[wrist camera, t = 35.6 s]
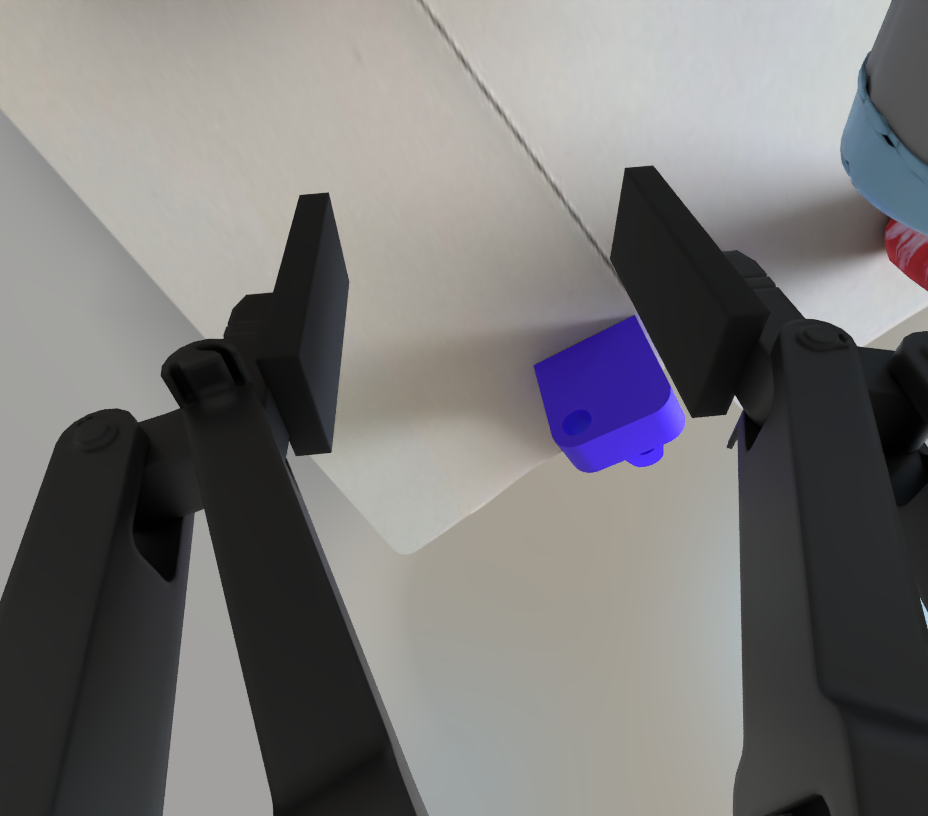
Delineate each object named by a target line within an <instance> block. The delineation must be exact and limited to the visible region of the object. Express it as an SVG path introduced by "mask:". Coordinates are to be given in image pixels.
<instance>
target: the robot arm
mask: <svg viewBox="0 0 928 816" xmlns="http://www.w3.org/2000/svg"><path fill="white" fill-rule="evenodd" d="M840 152H841V160H842V164H843V166H844V168H845V170H846V173H847V174H848V175H849V176H850V177H851V182H852V184H853V186H854V187H855V188H856V189H857V190H858V192H859V193H860V194H861V195H862V196H863V197H864V198H865V199H866V200H867V201H869V202H870V203H871V204H872V205H874V206H875V207H876V208H877V209H879V210H880V211H882V212H883V213H884V214H886V215H888V216H889V217H891V218H892V219H894V220H896V221H898V222H900V223H902V224H904V225H906V226H907V227H910V228H912V229H914V230H916V231H918V232H920V233H922V234H925V235H927V236H928V0H892V2H891V4H890V7H889V9H888V11H887V14H886V16H885V19H884V21H883V24H882V26H881V29H880V31H879V33H878V36H877V38H876V41H875V43H874V46H873V48H872V51H870V52H869V53H868V54H867V56H866V58H865V60H864V62H863V64H862V67H861V69H860V71H859V76H858V89H857V92H856V96H855V99H854V102H853V105H852V108H851V111H850V114H849V117H848V120H847V122H846V125H845V128H844V131H843V135H842V139H841V147H840ZM610 260H611V262H612V264H613V266H614V268H615V270H616V272H617V274H618V276H619V278H620V280H621V282H622V284H623V285H624V287H625V289H626V291H627V293H628V295H629V297H630V299H631V301H632V303H633V305H634V307H635V309H636V311H637V313H638V315H639V316H640V318H641V320H642V322H643V324H644V326H645V328H646V330H647V332H648V334H649V336H650V338H651V340H652V342H653V344H654V345H655V347H656V349H657V351H658V353H659V355H660V357H661V359H662V361H663V363H664V365H665V367H666V369H667V371H668V372H669V374H670V376H671V378H672V380H673V382H674V384H675V386H676V388H677V390H678V392H679V394H680V396H681V398H682V400H683V402H684V404H685V405H686V407H687V409H688V411H689V413H690V415H691V417H692V418H697V417H708V416H718V415H726V414H727V411H728V409H729V407H730V405H731V402H732V400H733V398H734V396H736V397H737V399H738V401H739V402H740V404H741V405H742V407H743V411H742V413H741V415H740V418H739V420H738V422H737V424H736V426H735V428H734V431H733V433H732V435H731V437H730V439H729V441H728V445H727V448H730V449H732V448H733V446H734V443H735V441H737V440H738V477H739V478H738V479H739V529H740V530H739V531H740V580H741V625H742V626H741V629H742V676H743V677H742V678H743V727H744V728H743V729H744V740H743V741H744V742H743V751H742V756H741V760H740V763H739V766H738V769H737V772H736V777H735V784H734V792H733V816H928V628H927V624H926V620H925V616H924V612H923V608H922V604H921V601H920V598H921V600H922V602H923V604H924V606H925V608H926V610H927V612H928V447H927V445H926V444H925V441H926V440H927V439H928V331H923V332H915V333H912V334H910V335H908V336H906V337H905V338H904V339H903V341H902V342H901V343H900V345H899V346H898V348H897V349H896V351H891V350H882V349H874V348H865V347H858V346H857V345H856V344H855V342H854V340H853V338H852V337H851V336H850V335H849V334H848V333H846V332H845V331H844V330H843V329H841V328H839V327H837V326H835V325H832V324H830V323H828V322H824V321H819V320H815V319H805V318H804V317H803V315H802V314H801V313H800V312H799V311H798V310H797V308H796V307H795V306H794V305H793V304H792V303H791V302H790V300H789V299H788V298H787V297H786V296H785V295H784V293H783V292H782V291H781V290H780V289H779V288H778V287H776V284H775V283H774V282H773V281H772V280H771V278H770V277H767V274H766V273H765V271H764V270H763V269H762V268H761V267H760V266H759V264H758V263H757V262H756V261H755V260H753V259H751V258H750V257H748V256H746V255H744V254H743V253H741V252H739V251H738V250H733V251H721V250H720V248H719V247H718V246H717V245H716V243H715V242H714V241H713V240H712V238H711V237H710V236H709V235H708V233H707V232H706V231H705V230H704V228H703V227H702V226H701V225H700V223H699V222H698V221H697V220H696V218H695V217H694V216H693V215H692V213H691V212H690V211H689V210H688V208H687V207H686V206H685V205H684V203H683V202H682V201H681V200H680V198H679V197H678V196H677V195H676V193H675V192H674V191H673V190H672V188H671V187H670V186H669V185H668V183H667V182H666V181H665V180H664V178H663V177H662V176H661V175H660V173H659V172H658V171H657V170H656V168H655V167H654V166H642V167H630V168H625V171H624V177H623V183H622V189H621V195H620V202H619V208H618V214H617V220H616V226H615V232H614V238H613V244H612V250H611V256H610ZM348 290H349V279H348V274H347V270H346V266H345V261H344V257H343V253H342V248H341V244H340V239H339V235H338V231H337V226H336V222H335V218H334V213H333V209H332V205H331V200H330V196H329V193H318V194H306V195H300V196H299V199H298V203H297V207H296V210H295V214H294V218H293V221H292V225H291V229H290V232H289V236H288V240H287V243H286V247H285V251H284V254H283V258H282V262H281V265H280V269H279V273H278V277H277V280H276V284H275V288H274V291H273V293H262V294H251V295H246V296H245V297H244V298H243V299H242V300H241V301H240V302H239V303H238V304H237V305H236V306H235V307H234V308H233V310H232V312H231V315H230V318H229V321H228V327H226V330H225V332H224V335H223V336H224V339H205V340H201V341H196V342H193V343H190V344H188V345H186V346H184V347H181V348H180V349H178V350H177V351H176V352H174V353H173V354H172V355H170V356H169V357H168V358H167V360H166V361H165V363H164V364H163V365H162V370H161V377H162V379H163V380H164V382H165V383H166V385H167V387H168V388H169V390H170V392H171V393H172V395H173V397H174V398H175V400H176V402H177V403H178V405H179V407H180V408H179V409H177V410H174V411H172V412H169V413H167V414H163V415H160V416H157V417H154V418H151V419H148V420H145V421H142V422H137V420H136V419H135V418H134V417H133V416H132V415H131V413H130V412H128V411H125V410H121V409H104V410H100V411H97V412H94V413H91V414H88V415H86V416H85V417H83V418H81V419H79V420H78V421H76V422H74V423H73V424H72V425H71V426H69V427H68V428H67V429H66V430H65V431H64V432H63V433H62V434H61V436H60V438H59V440H58V441H57V443H56V445H55V448H54V451H53V453H52V456H51V459H50V462H49V465H48V468H47V470H46V473H45V476H44V479H43V482H42V485H41V487H40V490H39V493H38V496H37V499H36V502H35V505H34V507H33V510H32V513H31V516H30V519H29V522H28V524H27V527H26V530H25V533H24V535H23V538H22V541H21V544H20V547H19V550H18V552H17V555H16V558H15V561H14V564H13V567H12V569H11V572H10V575H9V578H8V581H7V584H6V586H5V589H4V592H3V595H2V598H1V601H0V816H162V815H163V806H164V796H165V787H166V777H167V768H168V758H169V750H170V740H171V730H172V721H173V712H174V702H175V693H176V683H177V674H178V665H179V655H180V646H181V637H182V627H183V618H184V609H185V599H186V590H187V580H188V570H189V561H190V552H191V542H192V532H193V524H194V514H195V512H197V511H199V510H202V509H204V510H205V514H206V518H207V523H208V527H209V531H210V535H211V540H212V544H213V548H214V553H215V557H216V561H217V565H218V570H219V574H220V578H221V582H222V587H223V591H224V595H225V599H226V604H227V608H228V612H229V616H230V621H231V625H232V629H233V634H234V638H235V642H236V647H237V650H238V655H239V659H240V664H241V667H242V672H243V676H244V681H245V685H246V689H247V693H248V698H249V702H250V706H251V710H252V715H253V719H254V723H255V728H256V732H257V736H258V740H259V745H260V749H261V753H262V758H263V762H264V766H265V770H266V775H267V779H268V783H269V787H270V792H271V797H272V803H273V816H429V815H428V813H427V810H426V808H425V806H424V803H423V801H422V799H421V796H420V794H419V792H418V789H417V787H416V784H415V782H414V780H413V777H412V774H411V772H410V769H409V767H408V764H407V762H406V759H405V757H404V754H403V752H402V749H401V747H400V744H399V741H398V739H397V736H396V734H395V731H394V729H393V726H392V724H391V721H390V719H389V717H388V714H387V711H386V708H385V706H384V704H383V701H382V698H381V696H380V693H379V691H378V688H377V686H376V683H375V681H374V678H373V675H372V673H371V671H370V668H369V665H368V663H367V660H366V658H365V655H364V653H363V650H362V647H361V645H360V642H359V640H358V637H357V635H356V632H355V630H354V627H353V625H352V622H351V620H350V617H349V615H348V612H347V609H346V607H345V605H344V602H343V599H342V597H341V594H340V592H339V589H338V587H337V584H336V581H335V579H334V576H333V574H332V571H331V569H330V566H329V564H328V561H327V559H326V556H325V554H324V551H323V548H322V546H321V543H320V541H319V538H318V536H317V533H316V531H315V528H314V526H313V523H312V520H311V518H310V515H309V513H308V510H307V508H306V505H305V503H304V500H303V498H302V495H301V493H300V490H299V487H298V485H297V482H296V480H295V477H294V475H293V473H292V470H291V467H290V465H289V463H288V461H287V458H286V455H287V449H288V443H289V441H290V444H291V446H292V448H293V450H294V453H295V455H296V456H303V455H314V454H324V453H331V452H332V442H333V433H334V423H335V414H336V404H337V395H338V385H339V376H340V366H341V357H342V347H343V337H344V328H345V318H346V309H347V299H348Z"/></svg>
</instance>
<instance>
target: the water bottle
mask: <svg viewBox="0 0 928 816" xmlns="http://www.w3.org/2000/svg"><path fill="white" fill-rule="evenodd" d="M885 248H886V251H887V254H888V257H889V260H890V261H891V262H892V263H893V264H894V265H895V266H897V267H898V268H899V269H900V270H901V271H902V272H903V273H904V274H906V275H907V276H908V277H909V278H910V279H912V280H913V281H914V282H916V283H917V284H918V285H920V286H921V287H922V288H924V289H925V290H927V291H928V236H927V235H925V234H922V233H920V232H918V231H916V230H914V229H912V228H910V227H907V226H906V225H904V224H902V223H900V222H898V221H896V220H894V219H892V218H891V219H890V221H889V222H888V224H887V226H886V228H885Z"/></svg>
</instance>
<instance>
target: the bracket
mask: <svg viewBox="0 0 928 816" xmlns="http://www.w3.org/2000/svg"><path fill="white" fill-rule="evenodd" d="M534 369H535V373H536V377H537V381H538V385H539V388H540V392H541V396H542V400H543V404H544V407H545V411H546V415H547V419H548V422H549V426H550V430H551V434H552V437H553V439H554V441H555V442H556V443H557V445H558V446H559V447H560V448H561V450H562V451H563V452H564V453H565V455H566V456H567V457H568V458H569V460H570V461H571V462H572V463H573V465H574V466H575V467H576V468H577V469H579V470H580V471H583V472H587V473H591V472H597V471H600V470H602V469H605V468H607V467H610V466H612V465H614V464H617V463H619V462H622V461H624V460H626V461H627V462H629V463H631V464H632V465H634V466H637V467H646V466H649V465H652V464H654V463H656V462H658V461H659V460H660V459H661V458H662V456H663V444H666V443H668V442H670V441H672V440H673V439H675V438H676V437H678V436H679V435H680V433H681V432H682V430H683V428H684V426H685V416H684V413H683V411H682V409H681V407H680V405H679V403H678V401H677V399H676V397H675V395H674V393H673V390H672V388H671V386H670V384H669V382H668V380H667V378H666V376H665V374H664V372H663V370H662V368H661V366H660V364H659V362H658V360H657V358H656V356H655V354H654V353H653V351H652V349H651V347H650V345H649V343H648V341H647V339H646V337H645V335H644V333H643V331H642V329H641V327H640V325H639V323H638V321H637V319H636V317H635V315H634V316H632V317H630V318H628V319H626V320H624V321H622V322H620V323H618V324H616V325H614V326H612V327H610V328H608V329H606V330H604V331H602V332H600V333H598V334H596V335H594V336H592V337H590V338H588V339H586V340H584V341H582V342H580V343H578V344H576V345H574V346H572V347H570V348H568V349H566V350H564V351H562V352H560V353H558V354H556V355H554V356H552V357H550V358H548V359H546V360H544V361H542V362H540V363H538V364H536V365H534Z"/></svg>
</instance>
